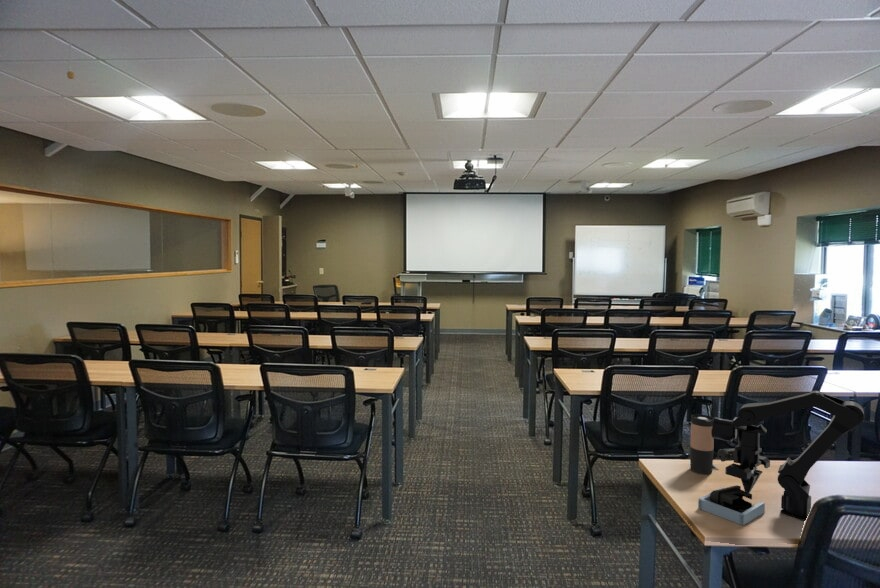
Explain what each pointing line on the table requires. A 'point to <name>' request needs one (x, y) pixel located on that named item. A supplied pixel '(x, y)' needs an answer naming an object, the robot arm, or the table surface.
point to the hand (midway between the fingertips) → (747, 492)
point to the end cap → (731, 498)
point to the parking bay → (729, 513)
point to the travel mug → (701, 444)
